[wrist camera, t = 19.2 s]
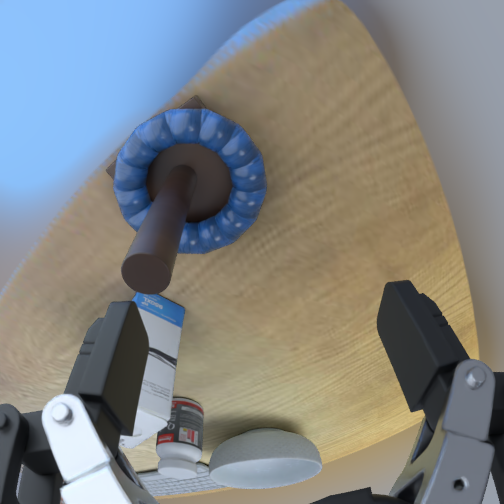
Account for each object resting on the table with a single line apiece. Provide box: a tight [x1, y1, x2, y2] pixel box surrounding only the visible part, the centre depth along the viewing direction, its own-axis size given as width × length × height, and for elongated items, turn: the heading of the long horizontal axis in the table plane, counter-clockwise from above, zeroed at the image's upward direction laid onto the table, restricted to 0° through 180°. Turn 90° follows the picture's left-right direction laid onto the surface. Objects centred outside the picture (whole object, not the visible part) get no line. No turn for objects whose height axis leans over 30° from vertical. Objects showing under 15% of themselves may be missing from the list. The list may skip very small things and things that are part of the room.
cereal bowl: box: [209, 428, 322, 489], centre depth 42 cm, size 17×17×7 cm
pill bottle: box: [156, 398, 204, 479], centre depth 34 cm, size 6×6×10 cm
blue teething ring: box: [113, 109, 267, 254], centre depth 20 cm, size 10×10×2 cm
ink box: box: [119, 292, 185, 448], centre depth 25 cm, size 8×5×12 cm, turn 143°
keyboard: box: [137, 463, 228, 496], centre depth 57 cm, size 44×12×2 cm, turn 126°
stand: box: [106, 96, 232, 295], centre depth 17 cm, size 8×8×12 cm
